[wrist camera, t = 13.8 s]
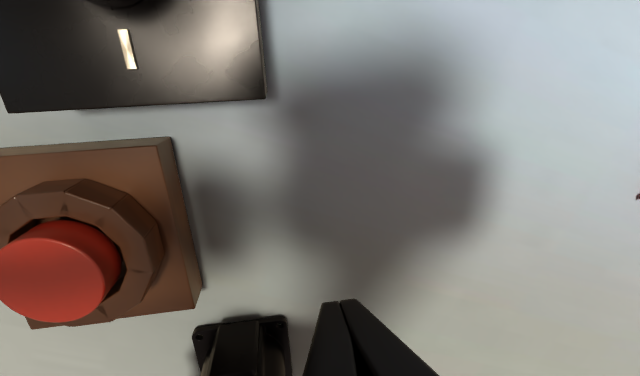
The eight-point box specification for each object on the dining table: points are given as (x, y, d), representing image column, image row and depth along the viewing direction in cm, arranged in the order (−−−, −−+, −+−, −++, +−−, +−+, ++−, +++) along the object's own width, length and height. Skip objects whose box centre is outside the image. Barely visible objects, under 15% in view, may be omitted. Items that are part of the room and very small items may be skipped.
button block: (202, 285, 21) (187, 332, 17) (56, 303, 20) (5, 357, 16) (170, 136, 17) (141, 154, 13) (-12, 148, 16) (-98, 172, 12)
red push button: (132, 291, 16) (116, 316, 14) (39, 302, 16) (11, 329, 14) (107, 214, 14) (86, 233, 13) (3, 224, 14) (-33, 244, 12)
